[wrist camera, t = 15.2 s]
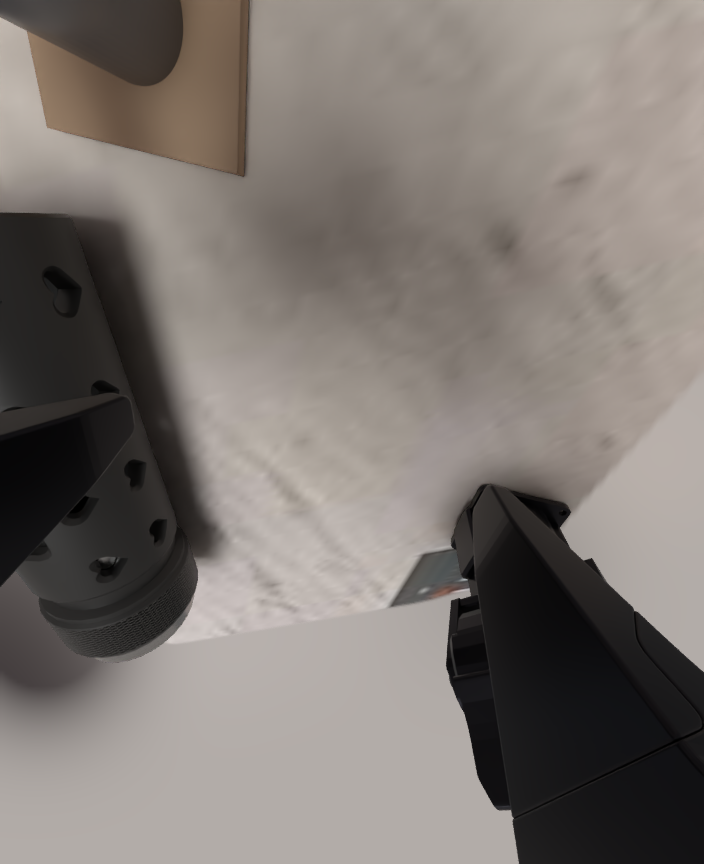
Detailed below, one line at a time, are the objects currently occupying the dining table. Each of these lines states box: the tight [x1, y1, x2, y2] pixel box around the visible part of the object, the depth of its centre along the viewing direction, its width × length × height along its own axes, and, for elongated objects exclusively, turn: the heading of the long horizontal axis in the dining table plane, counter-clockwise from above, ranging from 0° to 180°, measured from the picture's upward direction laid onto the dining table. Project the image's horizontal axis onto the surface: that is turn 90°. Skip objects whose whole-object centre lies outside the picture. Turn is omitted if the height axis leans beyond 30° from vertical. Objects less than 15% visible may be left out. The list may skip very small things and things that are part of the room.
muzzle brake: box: [0, 213, 198, 663], centre depth 22 cm, size 10×28×10 cm, turn 179°
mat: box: [27, 0, 249, 176], centre depth 14 cm, size 9×9×1 cm
